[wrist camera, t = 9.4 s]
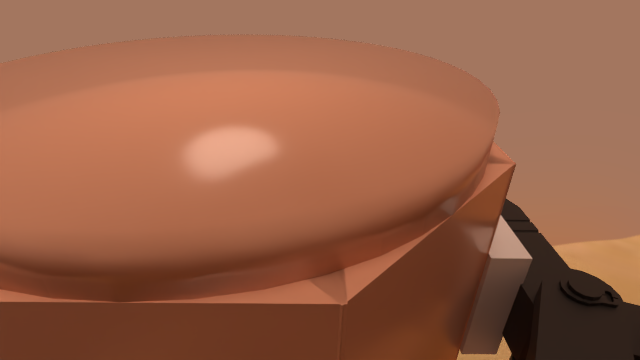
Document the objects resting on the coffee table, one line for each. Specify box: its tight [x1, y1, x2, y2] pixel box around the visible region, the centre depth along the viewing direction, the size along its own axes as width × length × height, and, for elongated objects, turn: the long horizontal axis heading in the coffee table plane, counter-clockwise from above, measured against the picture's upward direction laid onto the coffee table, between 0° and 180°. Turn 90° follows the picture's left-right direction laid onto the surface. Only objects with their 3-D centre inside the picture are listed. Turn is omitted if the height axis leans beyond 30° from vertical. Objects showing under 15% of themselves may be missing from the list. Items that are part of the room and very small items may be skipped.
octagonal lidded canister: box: [0, 35, 516, 360], centre depth 10 cm, size 10×10×10 cm
